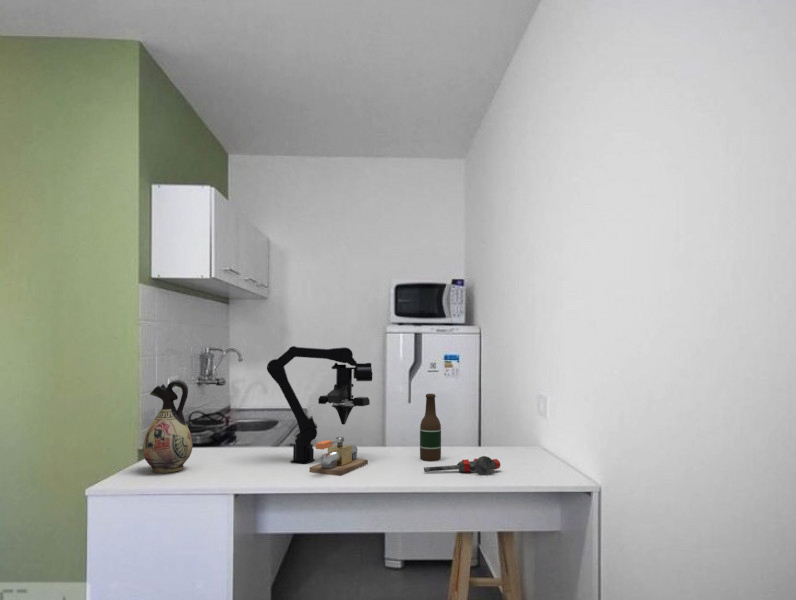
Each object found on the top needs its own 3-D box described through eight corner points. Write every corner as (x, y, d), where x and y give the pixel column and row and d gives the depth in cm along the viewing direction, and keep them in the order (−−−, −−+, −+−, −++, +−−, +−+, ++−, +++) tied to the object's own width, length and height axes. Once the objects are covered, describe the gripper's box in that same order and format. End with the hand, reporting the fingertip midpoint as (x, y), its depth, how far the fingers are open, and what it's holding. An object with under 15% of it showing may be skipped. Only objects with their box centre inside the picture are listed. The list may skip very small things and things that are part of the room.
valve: (493, 471, 197) (505, 475, 182) (420, 476, 194) (427, 480, 179) (492, 452, 198) (503, 455, 183) (419, 457, 195) (425, 459, 181)
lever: (338, 441, 194) (338, 435, 194) (345, 441, 193) (345, 436, 193) (315, 448, 179) (315, 443, 179) (323, 449, 178) (323, 443, 178)
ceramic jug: (132, 475, 178) (136, 381, 181) (155, 465, 194) (158, 378, 196) (184, 476, 178) (187, 381, 180) (203, 465, 193) (206, 378, 195)
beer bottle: (415, 459, 207) (415, 393, 208) (430, 456, 212) (430, 392, 214) (430, 462, 201) (430, 395, 203) (445, 459, 206) (445, 394, 208)
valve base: (309, 471, 185) (309, 445, 186) (338, 461, 202) (338, 436, 203) (340, 475, 180) (341, 448, 181) (367, 464, 197) (368, 439, 198)
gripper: (310, 381, 202) (309, 425, 201) (355, 383, 194) (355, 429, 193) (326, 380, 212) (325, 421, 211) (370, 381, 204) (369, 425, 203)
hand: (343, 424), depth 204 cm, fingers closed
